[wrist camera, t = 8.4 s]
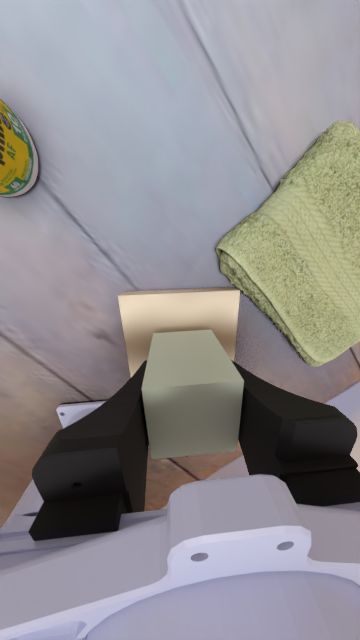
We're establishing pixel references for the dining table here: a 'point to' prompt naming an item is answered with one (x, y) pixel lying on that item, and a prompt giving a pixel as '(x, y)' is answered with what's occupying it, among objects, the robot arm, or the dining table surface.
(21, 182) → the supplement bottle
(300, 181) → the washcloth
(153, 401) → the sage cube
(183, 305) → the birch block
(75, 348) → the dining table surface
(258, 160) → the dining table surface
